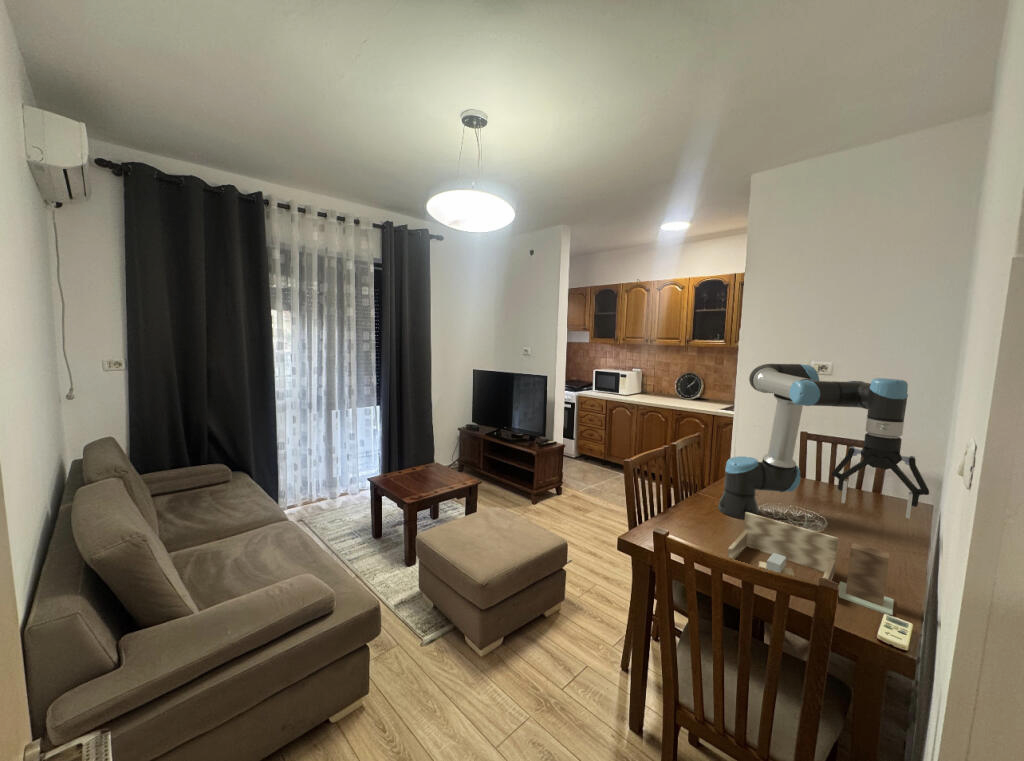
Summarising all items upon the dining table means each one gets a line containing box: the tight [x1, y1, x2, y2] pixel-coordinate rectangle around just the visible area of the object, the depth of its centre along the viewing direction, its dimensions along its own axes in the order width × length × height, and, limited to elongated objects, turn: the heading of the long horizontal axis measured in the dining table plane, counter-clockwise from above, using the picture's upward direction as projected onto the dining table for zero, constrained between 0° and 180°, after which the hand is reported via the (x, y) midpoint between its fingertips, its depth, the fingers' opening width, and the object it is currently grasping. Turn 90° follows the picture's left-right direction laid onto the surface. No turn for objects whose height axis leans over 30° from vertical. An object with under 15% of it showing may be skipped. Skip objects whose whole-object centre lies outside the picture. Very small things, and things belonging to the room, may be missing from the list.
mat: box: [838, 581, 895, 616], centre depth 117 cm, size 12×9×1 cm
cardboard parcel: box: [846, 542, 890, 606], centre depth 117 cm, size 8×4×14 cm, turn 45°
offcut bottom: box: [758, 560, 795, 577], centre depth 128 cm, size 9×4×3 cm, turn 61°
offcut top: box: [766, 552, 787, 573], centre depth 128 cm, size 7×4×3 cm, turn 134°
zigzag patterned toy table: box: [727, 512, 839, 581], centre depth 131 cm, size 26×19×12 cm
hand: (874, 509), depth 115 cm, fingers open, 13 cm apart
